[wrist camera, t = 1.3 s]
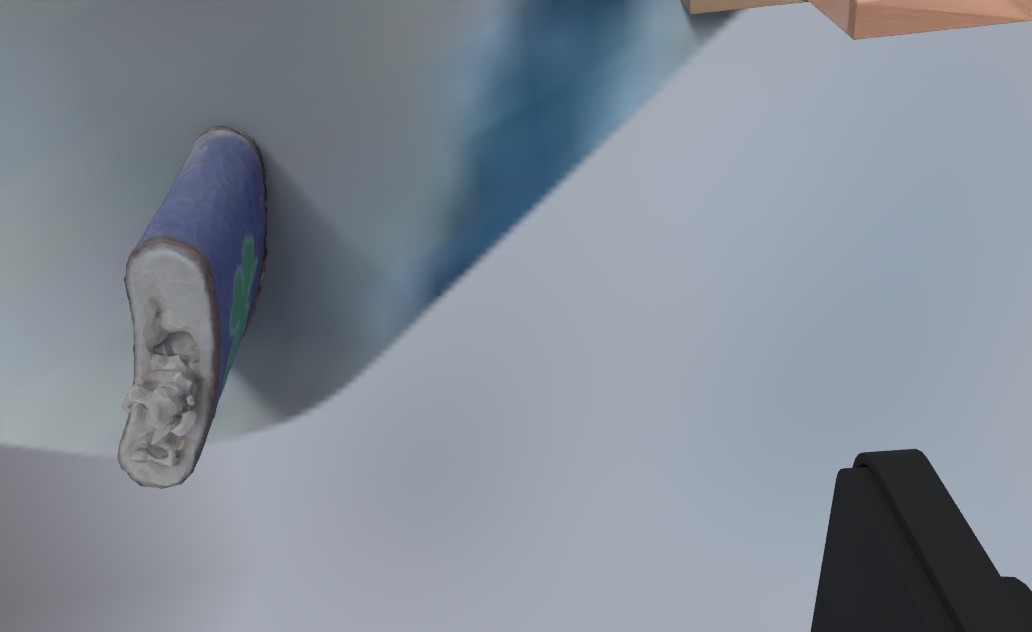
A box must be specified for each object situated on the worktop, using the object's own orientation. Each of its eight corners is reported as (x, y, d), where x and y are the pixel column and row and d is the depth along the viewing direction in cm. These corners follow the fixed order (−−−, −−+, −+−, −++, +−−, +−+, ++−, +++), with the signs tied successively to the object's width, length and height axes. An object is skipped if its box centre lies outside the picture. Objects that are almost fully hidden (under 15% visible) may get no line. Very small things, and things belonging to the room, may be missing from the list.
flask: (194, 116, 34) (102, 271, 25) (280, 132, 35) (220, 290, 26) (180, 335, 39) (98, 532, 30) (256, 347, 39) (198, 543, 30)
